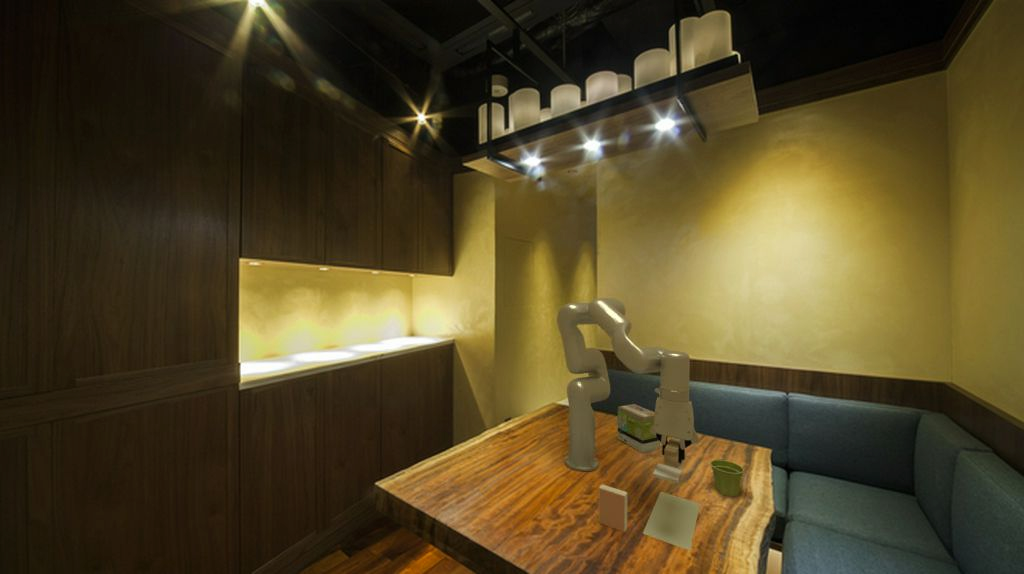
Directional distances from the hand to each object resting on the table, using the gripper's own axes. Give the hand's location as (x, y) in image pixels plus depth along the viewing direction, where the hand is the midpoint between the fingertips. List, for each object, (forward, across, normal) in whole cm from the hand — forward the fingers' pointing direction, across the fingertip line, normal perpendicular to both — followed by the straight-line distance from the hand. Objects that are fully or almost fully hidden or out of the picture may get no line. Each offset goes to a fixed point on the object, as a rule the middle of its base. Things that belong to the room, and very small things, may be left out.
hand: (673, 459), depth 100 cm
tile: (+16, -12, -15) cm, 25 cm away
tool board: (+16, 0, -2) cm, 16 cm away
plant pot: (+16, +12, +23) cm, 31 cm away
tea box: (+17, -20, +46) cm, 53 cm away
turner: (+1, 0, -2) cm, 2 cm away
